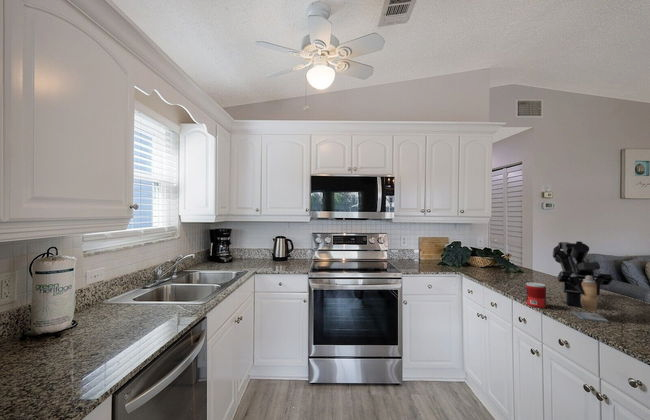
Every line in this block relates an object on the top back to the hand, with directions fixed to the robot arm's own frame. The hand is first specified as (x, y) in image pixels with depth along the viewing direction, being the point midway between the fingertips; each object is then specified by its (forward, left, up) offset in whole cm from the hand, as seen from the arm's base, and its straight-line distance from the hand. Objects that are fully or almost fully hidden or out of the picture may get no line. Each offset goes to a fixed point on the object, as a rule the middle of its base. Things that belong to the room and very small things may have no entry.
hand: (590, 294), depth 125 cm
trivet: (-1, 0, -11) cm, 11 cm away
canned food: (-12, -17, -11) cm, 24 cm away
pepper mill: (-1, 0, -7) cm, 7 cm away
